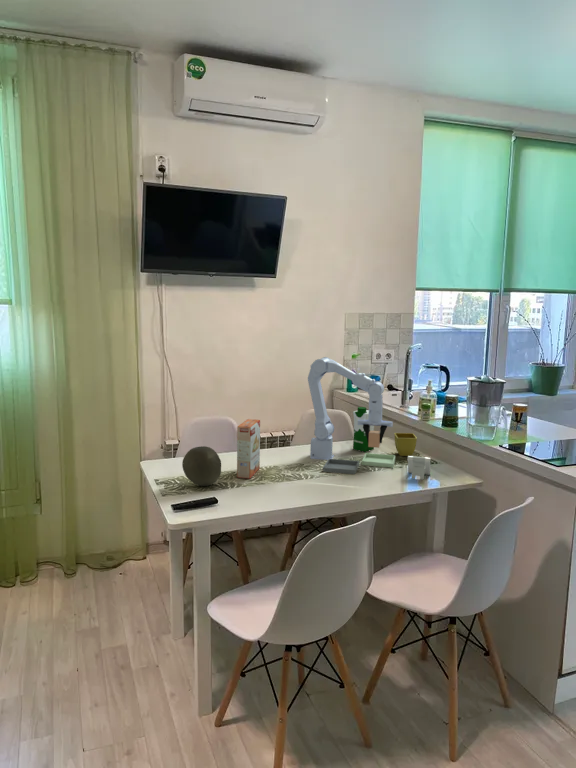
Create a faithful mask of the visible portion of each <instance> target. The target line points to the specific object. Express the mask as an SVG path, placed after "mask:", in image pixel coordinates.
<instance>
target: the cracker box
mask: <svg viewBox="0 0 576 768" xmlns="http://www.w3.org/2000/svg"><path fill="white" fill-rule="evenodd" d="M236 429H237V430H236V434H237V435H236V439H237V440H236V442H237V443H236V455H237V456H236V461H237V462H236V478H237V479H238V478H239V479H251V478H252V477H253V476H254V475H255V474H256V473H257V472H258V471H259V470H260V468H261V467H260V463H261V460H260V456H261V452H260V451H261V450H260V449H261V448H260V447H261V419H252V418H248V419H245V420H244V421H243V422H241V423H240V424H239V425H237V427H236Z"/></svg>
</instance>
